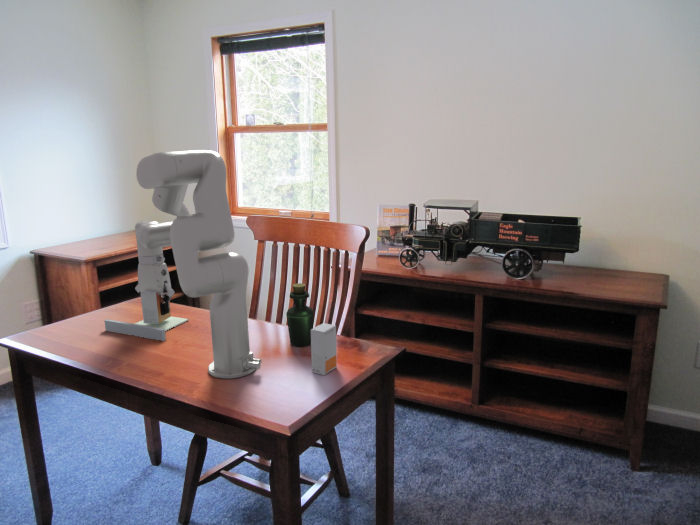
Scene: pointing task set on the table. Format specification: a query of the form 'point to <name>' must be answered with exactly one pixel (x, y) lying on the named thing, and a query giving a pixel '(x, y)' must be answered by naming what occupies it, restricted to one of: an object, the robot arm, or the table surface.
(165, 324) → the mat
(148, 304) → the small box
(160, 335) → the low wall
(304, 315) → the potion bottle
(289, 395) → the table surface
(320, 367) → the skincare box
